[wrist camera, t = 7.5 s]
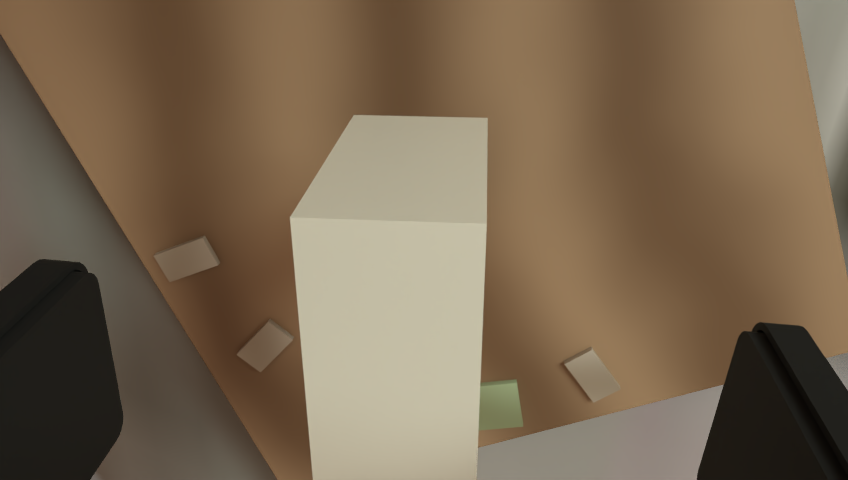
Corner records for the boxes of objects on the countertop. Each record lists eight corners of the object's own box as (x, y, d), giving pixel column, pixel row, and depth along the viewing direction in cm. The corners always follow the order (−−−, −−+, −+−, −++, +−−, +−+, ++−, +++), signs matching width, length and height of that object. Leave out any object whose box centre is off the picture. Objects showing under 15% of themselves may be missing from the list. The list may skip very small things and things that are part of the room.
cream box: (390, 56, 19) (289, 217, 10) (488, 58, 19) (486, 223, 9) (398, 444, 25) (340, 790, 15) (473, 448, 25) (463, 802, 15)
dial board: (696, -407, 16) (714, -433, 15) (843, 327, 23) (863, 352, 22) (-17, -42, 20) (-50, -39, 19) (295, 473, 28) (286, 500, 27)
